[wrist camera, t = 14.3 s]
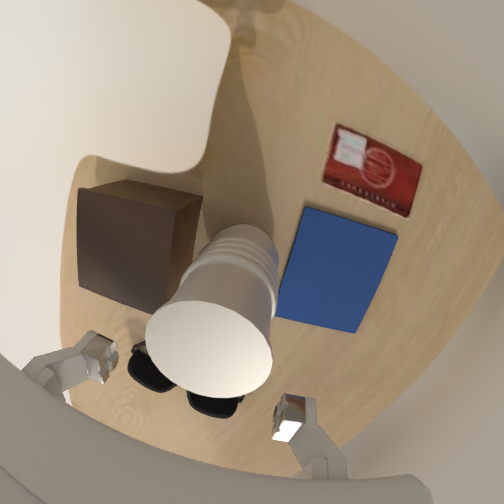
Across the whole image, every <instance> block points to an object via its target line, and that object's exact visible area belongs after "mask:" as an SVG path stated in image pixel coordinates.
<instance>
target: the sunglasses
mask: <svg viewBox="0 0 504 504" xmlns="http://www.w3.org/2000/svg"><path fill="white" fill-rule="evenodd" d="M143 345H146V342H142V343H139V344H136V345H134V346H133V347H132V350H131V352H132V354H133V355H132V357H131V358H130V360H129V363H128V368H127V369H128V372H129V374H130V376H131V377H132V378H133V379H134V380H136V381H137V382H138V383H140V384H141V385H143V386H144V387H146V388H148V389H150V390H152V391H155V392H159V393H163V392H167V391H169V390H171V389H172V388H174V387H175V386H177V384H175V383H173V382H172V381H171V380H169V379H168V378H167V377H166V376H165V375H164V374H163V373H161V372H160V370H159V369H158V368H157V366H156V365H155V364H154V363H153V361H152V359H151V357H150V356H148V355H146V354H144V353H142V352H141V351H139V350H138V349H137V347H140V346H143ZM186 391H187V398H188V401H189V404H190V405H191V406H192V408H194V409H195V410H197V411H198V412H200V413H203V414H205V415H208V416H211V417H216V418H222V419H226V418H229V417H231V416H232V415H233V414H234V412H235V411H236V409H237V406H238V403H241V402H242V400H243V399H244V395H242V396H237V397H231V398H213V397H208V396H203V395H198V394H196V393H193V392H191V391H188V390H186Z"/></svg>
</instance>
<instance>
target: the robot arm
mask: <svg viewBox="0 0 504 504" xmlns="http://www.w3.org/2000/svg"><path fill="white" fill-rule="evenodd" d="M116 349H117V342H115V341H113V340H111V339H109V338H107V337H105V336H103V335H100V334H98V333H96V332H94V331H92V330H90V331H88V332H87V333H86V334H85V335H84V336H83V337H82V339H81V340H80V341H79V342H78V343H77V344H76V345H75V346H74V347H73V348H71V347H69V348H65V349H62V350H58V351H55V352H51V353H48V354H44V355H40V356H37V357H34V358H33V359H32V360H31V361H30V362H29V363H28V364H27V365H26V366H25V367H24V368H23V369H22V370H21V371H20V370H19V369H18V368H17V367H15V366H14V365H13V364H12V363H11V362H9V361H8V360H7V359H6V358H5V357H4V356H3V355H1V354H0V504H433V501H432V496H431V492H430V490H429V489H428V488H427V487H426V486H425V485H424V484H423V483H422V482H421V481H420V480H419V479H418V478H416V477H415V476H414V475H412V474H404V475H397V476H390V477H380V478H368V479H351V480H350V479H349V480H348V478H347V467H346V458H345V457H344V456H343V454H342V453H341V452H340V451H339V449H338V448H337V447H336V446H335V444H334V443H333V442H332V441H331V439H330V438H329V437H328V435H327V434H326V433H325V432H324V430H323V429H322V428H321V426H318V425H317V414H316V400H315V398H309V397H304V396H297V395H291V394H285V393H284V394H283V395H282V396H281V401H280V402H279V403H278V404H277V406H276V408H275V411H274V415H273V421H274V423H275V424H274V426H273V427H272V437H271V439H274V440H280V441H285V442H288V443H289V445H290V447H291V449H292V450H293V452H294V454H295V456H296V458H297V459H298V461H299V463H300V465H301V467H302V468H303V469H302V470H301V471H300V472H299V473H298V474H297V475H295V476H294V477H293V478H288V477H278V476H270V475H263V474H256V473H250V472H244V471H239V470H234V469H229V468H225V467H220V466H216V465H212V464H208V463H204V462H201V461H197V460H194V459H190V458H187V457H184V456H180V455H177V454H174V453H171V452H168V451H166V450H163V449H160V448H157V447H155V446H152V445H149V444H147V443H144V442H142V441H139V440H137V439H135V438H132V437H130V436H128V435H126V434H123V433H121V432H119V431H117V430H115V429H113V428H111V427H109V426H107V425H105V424H103V423H101V422H99V421H97V420H95V419H93V418H91V417H89V416H88V415H86V414H84V413H82V412H81V411H79V410H77V409H75V408H74V407H72V406H70V405H69V404H67V403H66V400H65V398H64V395H63V393H62V392H63V391H65V390H67V389H70V388H72V387H74V386H76V385H78V384H80V383H82V382H84V381H87V380H89V378H90V379H92V380H94V381H96V382H98V383H100V384H102V385H104V383H105V382H106V380H107V379H108V378H109V372H111V371H113V370H114V369H115V367H116V366H117V363H118V358H119V357H118V353H117V351H116Z"/></svg>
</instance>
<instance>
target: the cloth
mask: <svg viewBox="0 0 504 504" xmlns="http://www.w3.org/2000/svg"><path fill="white" fill-rule="evenodd" d="M397 239H398V236H397V235H395V234H392V233H389V232H386V231H383V230H380V229H377V228H374V227H371V226H368V225H365V224H362V223H359V222H356V221H353V220H349V219H346V218H343V217H340V216H336V215H333V214H330V213H327V212H323V211H320V210H316V209H313V208H309V207H306V206H305V208H304V212H303V215H302V219H301V222H300V225H299V229H298V232H297V235H296V239H295V242H294V245H293V248H292V252H291V255H290V258H289V261H288V264H287V268H286V271H285V274H284V277H283V280H282V283H281V286H280V289H279V292H278V298H277V299H278V303H277V309H276V315H275V316H277V317H282V318H286V319H290V320H294V321H299V322H303V323H307V324H312V325H316V326H321V327H326V328H330V329H335V330H340V331H345V332H350V333H356V331H357V329H358V327H359V325H360V323H361V321H362V319H363V317H364V315H365V313H366V311H367V309H368V307H369V305H370V303H371V301H372V299H373V296H374V294H375V292H376V290H377V288H378V286H379V283H380V281H381V279H382V277H383V274H384V272H385V270H386V267H387V265H388V262H389V260H390V257H391V255H392V252H393V250H394V247H395V245H396V242H397Z"/></svg>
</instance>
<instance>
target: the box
mask: <svg viewBox="0 0 504 504" xmlns="http://www.w3.org/2000/svg"><path fill="white" fill-rule="evenodd" d="M202 199H203V196H199V195H195V194H190V193H186V192H182V191H177V190H173V189H168V188H163V187H159V186H154V185H149V184H144V183H139V182H134V181H129V180H121V181H117V182H112V183H109V184H105V185H101V186H97V187H93V188H90V189H87V188H79V189H78V196H77V264H78V279H79V286H80V287H82V288H85V289H87V290H89V291H92V292H94V293H97V294H99V295H101V296H104V297H106V298H109V299H111V300H114V301H116V302H119V303H122V304H124V305H127V306H130V307H132V308H135V309H138V310H140V311H143V312H146V313H149V314H152V315H153V314H154V313H155V311H156V310H158V309H159V308H160V307H161V306H163V305H164V304H165V303H167V302H169V301H170V300H171V298H172V297H173V295H174V294H175V293H176V291H177V290H178V289H179V284H180V281H181V277H182V276H183V274H184V273H185V271H186V270H187V268H188V267H189V266H190V265H191V261H192V255H193V249H194V243H195V237H196V231H197V225H198V220H199V214H200V209H201V204H202Z"/></svg>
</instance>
